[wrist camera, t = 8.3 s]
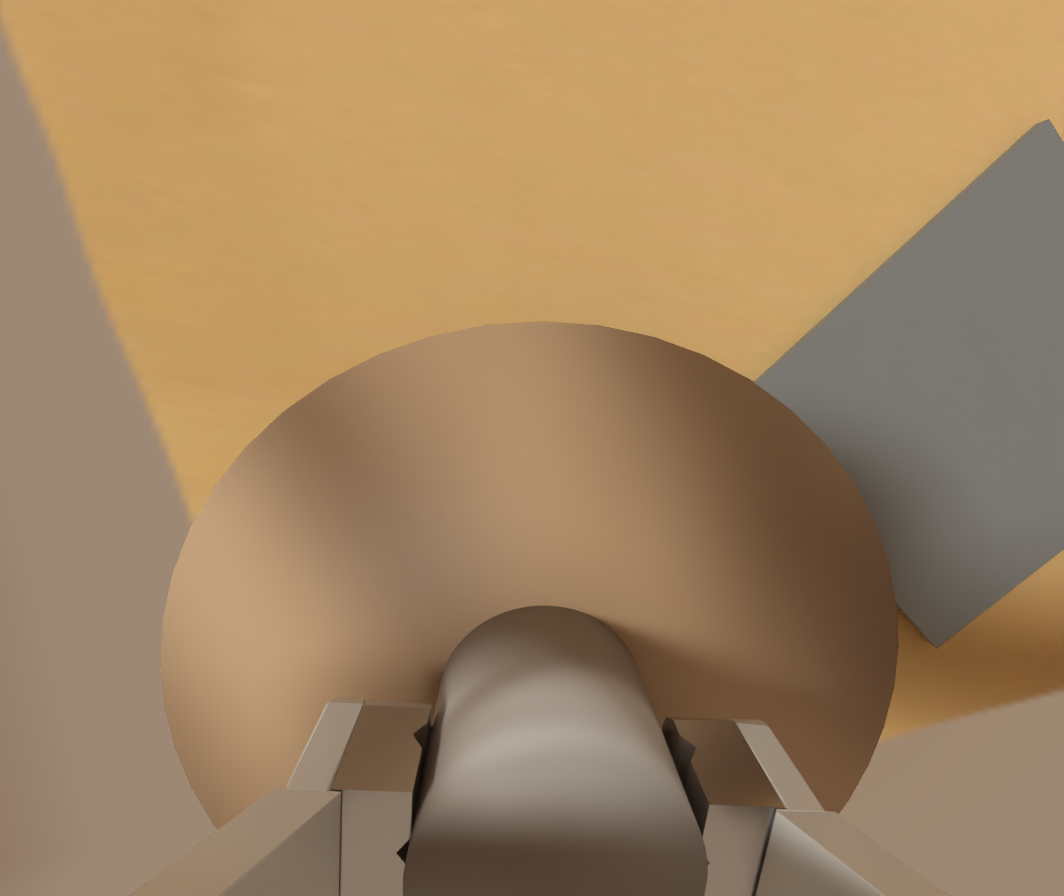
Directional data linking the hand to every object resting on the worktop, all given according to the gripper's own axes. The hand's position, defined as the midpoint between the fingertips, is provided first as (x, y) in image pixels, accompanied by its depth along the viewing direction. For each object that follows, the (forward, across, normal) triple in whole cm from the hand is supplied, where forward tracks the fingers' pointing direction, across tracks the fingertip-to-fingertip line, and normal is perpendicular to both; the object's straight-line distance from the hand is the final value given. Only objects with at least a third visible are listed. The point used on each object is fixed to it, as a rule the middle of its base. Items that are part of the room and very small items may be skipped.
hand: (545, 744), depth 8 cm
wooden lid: (+2, 0, 0) cm, 2 cm away
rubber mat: (+15, -20, -5) cm, 25 cm away
